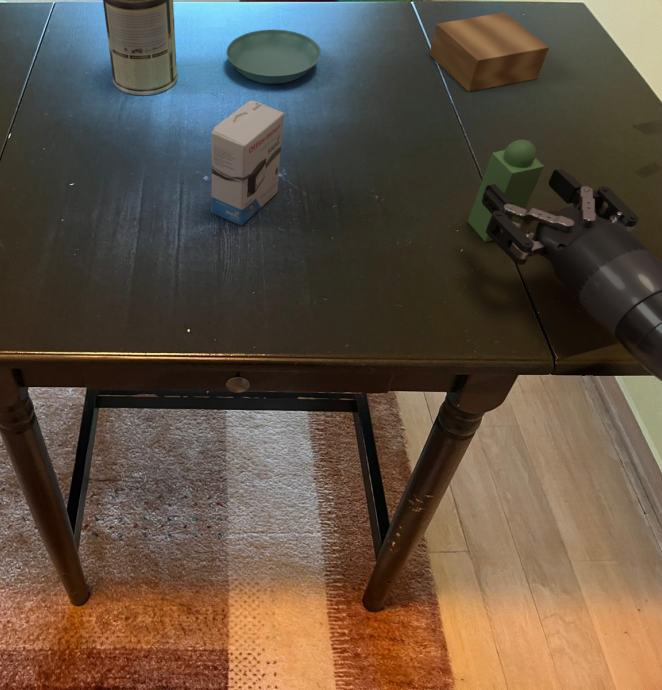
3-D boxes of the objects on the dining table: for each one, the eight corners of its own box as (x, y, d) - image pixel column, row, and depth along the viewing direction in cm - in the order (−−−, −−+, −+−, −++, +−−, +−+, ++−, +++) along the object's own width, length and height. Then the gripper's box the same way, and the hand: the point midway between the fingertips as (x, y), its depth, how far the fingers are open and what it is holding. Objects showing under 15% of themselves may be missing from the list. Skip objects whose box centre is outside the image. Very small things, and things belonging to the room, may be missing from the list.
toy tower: (495, 215, 85) (530, 128, 76) (513, 235, 83) (551, 148, 73) (467, 221, 85) (498, 135, 75) (484, 242, 82) (519, 155, 73)
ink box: (241, 227, 84) (244, 145, 75) (209, 212, 86) (208, 130, 77) (279, 192, 89) (286, 111, 80) (248, 179, 91) (252, 97, 82)
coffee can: (101, 72, 109) (88, -21, 98) (159, 56, 112) (153, -36, 101) (129, 103, 103) (119, 7, 92) (189, 84, 106) (186, -10, 95)
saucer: (292, 37, 115) (293, 21, 113) (336, 79, 106) (338, 62, 104) (211, 55, 112) (211, 39, 110) (250, 100, 103) (250, 83, 101)
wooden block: (494, 42, 113) (503, 12, 109) (537, 78, 106) (549, 47, 102) (428, 54, 111) (436, 23, 107) (468, 92, 104) (478, 60, 100)
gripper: (539, 323, 68) (455, 222, 78) (659, 291, 71) (562, 197, 81) (569, 269, 62) (474, 167, 72) (698, 236, 65) (589, 142, 75)
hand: (521, 183), depth 77 cm, fingers open, 8 cm apart
